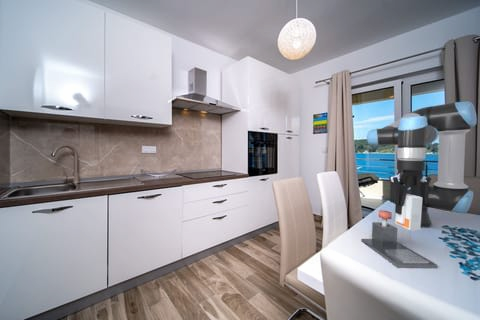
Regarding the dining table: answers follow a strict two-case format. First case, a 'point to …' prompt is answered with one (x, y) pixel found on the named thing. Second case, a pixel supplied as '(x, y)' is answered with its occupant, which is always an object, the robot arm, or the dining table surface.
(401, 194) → the robot arm
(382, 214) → the plunger
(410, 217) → the skincare box
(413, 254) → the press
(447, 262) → the dining table surface
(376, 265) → the dining table surface
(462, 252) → the dining table surface
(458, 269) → the dining table surface
